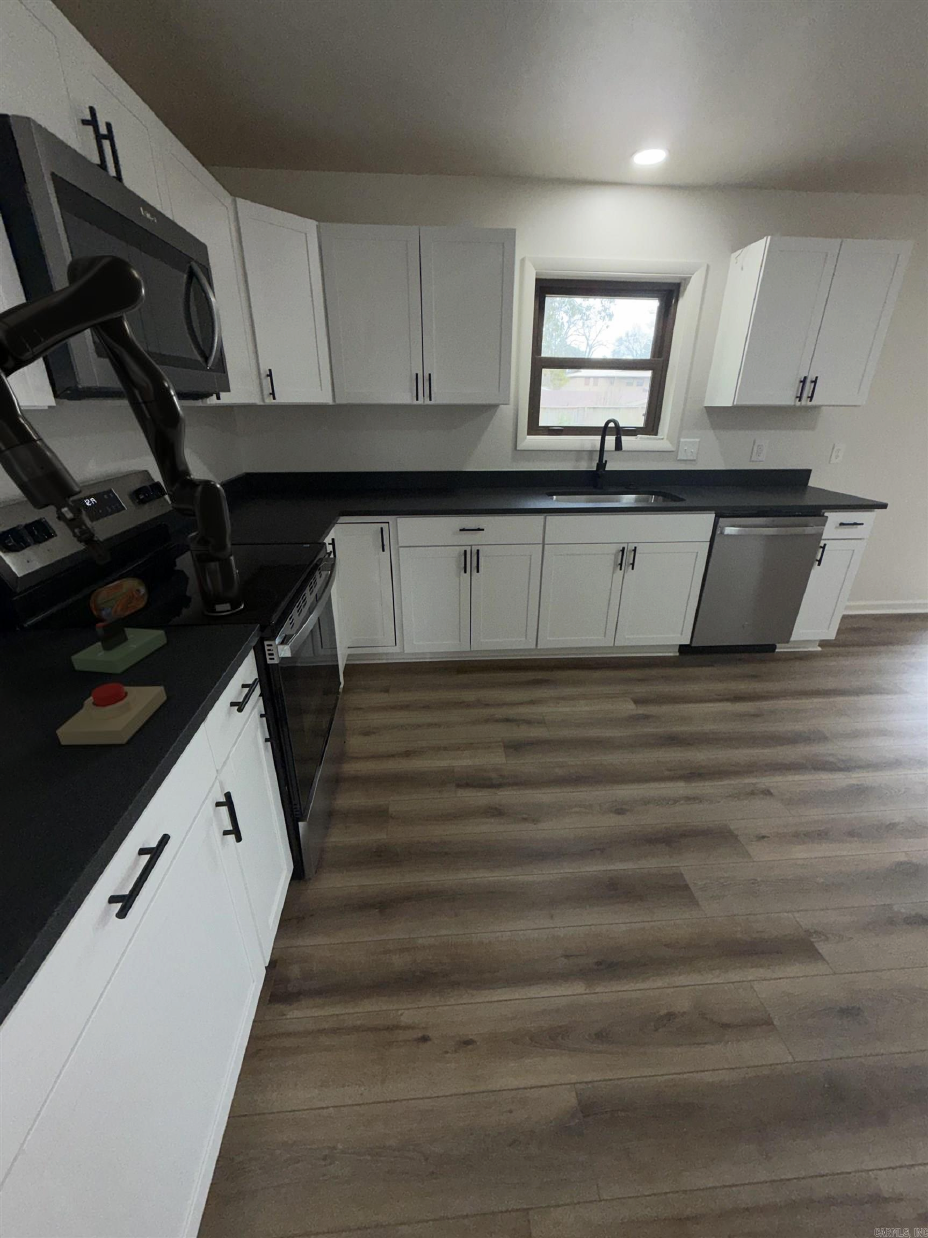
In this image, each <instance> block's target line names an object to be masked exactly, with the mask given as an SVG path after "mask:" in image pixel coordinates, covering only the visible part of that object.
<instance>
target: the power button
mask: <svg viewBox="0 0 928 1238" xmlns="http://www.w3.org/2000/svg"><path fill="white" fill-rule="evenodd" d="M123 687H124V685H123V684H122V683H120V682H110V683H106V684H103V685H101V686H98V687H96V688H95V689H93V690H92V691H91V696H92V697H93V700H94V703H95V705H96V706H97V707H105V706H109V705H113V704H116V703H118V702H120V701H122V700H124V699H125V698H126V694H125V691H124V688H123Z"/></svg>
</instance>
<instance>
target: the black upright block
mask: <svg viewBox="0 0 928 1238" xmlns="http://www.w3.org/2000/svg"><path fill="white" fill-rule="evenodd" d="M94 628H95V631H96V634H97V636H98V639H99V641H100V642H101V645H102V648H103V650H108V651H110V650H112V649H114V648H115V647H117V646H119V645H120V644H122V643H124V642H125V641H127V640H128V638H127V635H126V631H125V628H126V627H125V625H124V623H123V618H121V617H116V616H114V617H112V618H110V619H108V620H103V622H99V623H97V624H95V626H94Z"/></svg>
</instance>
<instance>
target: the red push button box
mask: <svg viewBox="0 0 928 1238" xmlns="http://www.w3.org/2000/svg"><path fill="white" fill-rule="evenodd" d="M123 688H124V691H125V694H126V698H125V699H124V700H122V701H120V702H118V703H116V704H113V705H109V706H105V707H97V706H96V705H95V703H94V700H93V697H92V695H91V696H90V697H89V698H88V697H87V699H86V700H85V701H84V703H83V707H82V709H80V710H79V711H78V712H77V713H76V714H75V715H73V716H72V717H71V718H70V719H68V720H67V721H66V722H64V724H62V726H60V727H59V728H58V729H57V730H56V731H55V732H56V735H57V737H58V739H59V741H60V742H59V743H60V744H61V745H62V746H63V745H64V746H66V745H67V746H68V745H121V744H126V743H127V742H128V741H129V740H130V738H132V736H133V735H135V733H137V731H138V730H139V729H140V728H141V727H142V726H143V725H144V724H145V723H146V721H147V720H148V719H149V718H150V717H151V716H152V715H153V714H154V713H155V712H156V711H157V710H158V709H159V708H160V706H161V705H163V703H164V702H165V701H166V700H167V699H168V698H167V694H166V690H165V688H164V686H163V685H162V686H160V685H159V686H157V685H156V686H123Z"/></svg>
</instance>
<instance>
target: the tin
mask: <svg viewBox="0 0 928 1238" xmlns="http://www.w3.org/2000/svg"><path fill="white" fill-rule="evenodd" d="M148 597H149V591H148V588H147V585H146V583H144V581H143V580H142V579H139V578H137V577H127V578H121V579H119V580H117V581H115V582H113V583H112V582H111V583H110V584H107V585H105V586H103V587H100V588H98V589H96V590H95V591H94V592H93V593H92V595H91V597H90V600H89V605H90V609H91V612H92V614H93V615H94V617H96V618H97V619H99V620H101V621H106V620H108V619H110V618H112V617H114V616H116V617H121V619H123V618H125V617H126V616H129V615H131V614H132V613H134V612H136V611H138V610H140V609H142V608H143V607H144V606H145V605H146V603H147V601H148Z"/></svg>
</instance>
